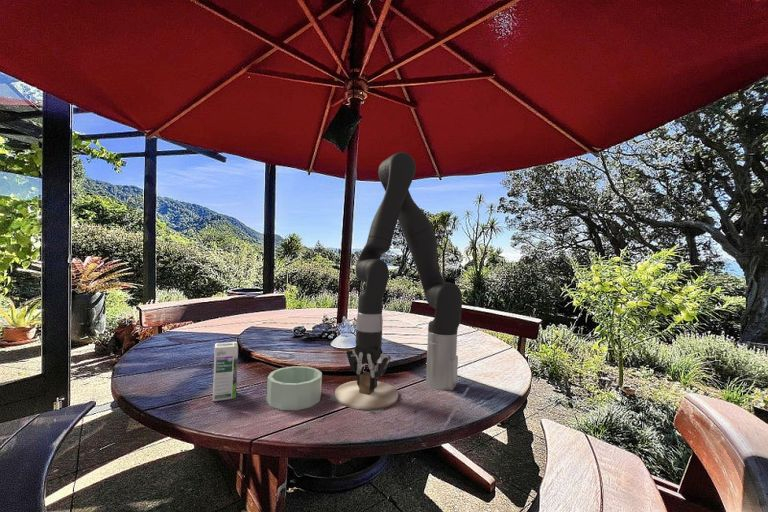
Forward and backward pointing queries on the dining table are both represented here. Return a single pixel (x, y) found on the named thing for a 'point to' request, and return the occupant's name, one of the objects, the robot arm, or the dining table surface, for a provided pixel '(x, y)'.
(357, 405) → the lid
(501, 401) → the dining table surface
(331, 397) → the mat
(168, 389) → the dining table surface
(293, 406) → the bowl
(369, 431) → the dining table surface
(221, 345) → the syrup box
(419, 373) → the dining table surface
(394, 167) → the robot arm
